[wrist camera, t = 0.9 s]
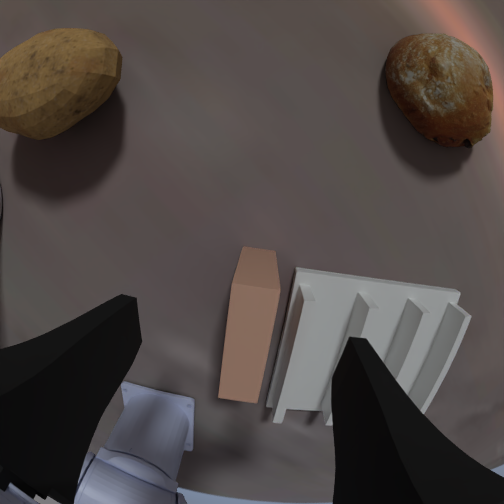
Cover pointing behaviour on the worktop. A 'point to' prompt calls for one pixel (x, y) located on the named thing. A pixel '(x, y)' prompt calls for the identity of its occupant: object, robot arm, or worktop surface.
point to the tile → (249, 324)
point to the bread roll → (441, 88)
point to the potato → (56, 81)
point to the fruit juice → (0, 202)
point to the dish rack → (363, 336)
